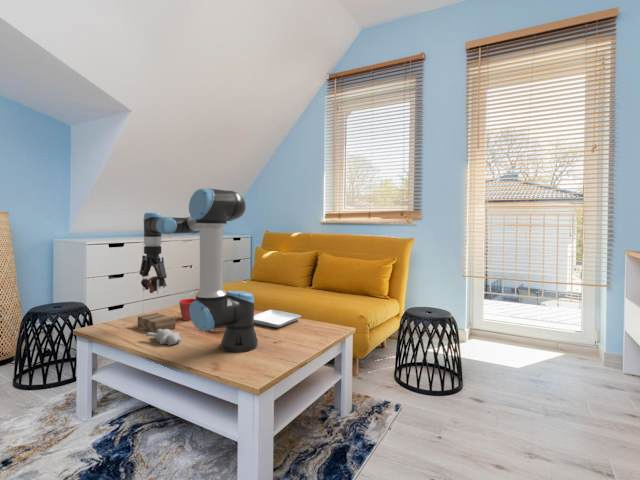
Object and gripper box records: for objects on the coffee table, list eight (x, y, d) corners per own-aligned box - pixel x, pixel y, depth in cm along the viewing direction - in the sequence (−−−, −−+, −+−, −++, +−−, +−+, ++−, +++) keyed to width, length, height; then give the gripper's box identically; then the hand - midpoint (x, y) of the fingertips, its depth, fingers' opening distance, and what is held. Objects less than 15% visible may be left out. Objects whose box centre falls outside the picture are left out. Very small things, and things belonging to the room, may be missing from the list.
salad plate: (278, 331, 181) (279, 324, 181) (245, 324, 192) (245, 317, 191) (302, 321, 199) (302, 314, 199) (270, 315, 210) (270, 309, 210)
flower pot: (205, 318, 200) (205, 300, 199) (188, 322, 190) (188, 303, 190) (191, 315, 205) (192, 297, 205) (174, 319, 196) (174, 301, 195)
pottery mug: (168, 290, 184) (170, 277, 181) (160, 302, 176) (162, 289, 172) (144, 283, 183) (145, 270, 179) (134, 295, 175) (135, 282, 171)
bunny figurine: (169, 338, 153) (144, 329, 159) (168, 350, 153) (143, 340, 160) (186, 332, 161) (162, 323, 168) (185, 344, 162) (161, 334, 168)
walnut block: (175, 328, 180) (175, 318, 180) (155, 333, 172) (155, 322, 171) (157, 322, 189) (157, 312, 189) (137, 326, 181) (137, 316, 181)
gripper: (174, 246, 173) (174, 293, 174) (146, 243, 186) (146, 287, 187) (159, 247, 166) (159, 296, 168) (131, 244, 180) (131, 289, 181)
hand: (152, 291), depth 177 cm, fingers closed on pottery mug, 11 cm apart
